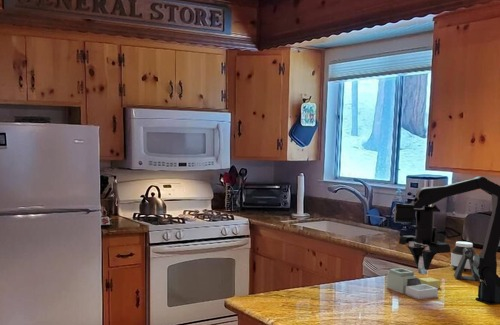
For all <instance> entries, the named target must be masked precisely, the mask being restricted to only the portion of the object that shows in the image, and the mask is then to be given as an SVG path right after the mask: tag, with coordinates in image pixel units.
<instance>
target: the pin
mask: <svg viewBox="0 0 500 325" xmlns="http://www.w3.org/2000/svg"><path fill="white" fill-rule="evenodd" d="M417 268H418V269H417V273H418V274H419V275H420V274H421V275H428V270H425V267H424V261H423V254H422V255H419V263H418V266H417Z"/></svg>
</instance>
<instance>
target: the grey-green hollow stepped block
mask: <svg viewBox="0 0 500 325" xmlns="http://www.w3.org/2000/svg"><path fill="white" fill-rule="evenodd" d="M386 277H387V282H386V283H387V284H386V288H387V289H389V290H392V291H395V292H397V293H400V294H406V286H413V285H421V282H420V280H419V279H418V277H417V275H415V272H414V271H411V270H409V269H405V268H401V267H400V268H390V269H389V271H387V276H386Z"/></svg>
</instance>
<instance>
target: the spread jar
mask: <svg viewBox="0 0 500 325" xmlns="http://www.w3.org/2000/svg"><path fill="white" fill-rule="evenodd" d="M473 247H474V244H473V242H469V241H463V240H462V241H456V242H455V246H454V247H453V248H452V250H451V252H450V254H451V256H450V263H451V267H453V269H455V270H456V269H457V266H458V264H459V262H460V260H461V258H462V255H463V249H464V248H466V249H467V250H468V251H467V252H466V255H467V254H469V253H470V250H471V251H472V252H473V261H474V256H475V254H477V252H476V250H475V249H474V248H473ZM468 248H469V249H470V250H469V249H468ZM463 272H471V267H470V263H469V259H467V261H466V264H465V267H464V270H463Z"/></svg>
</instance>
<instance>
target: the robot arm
mask: <svg viewBox="0 0 500 325" xmlns="http://www.w3.org/2000/svg"><path fill="white" fill-rule="evenodd" d="M477 190H482V191H483V192H484V193H486V194H489V195H490V196H491V209H492V212H491V216H490V219H489V222H488V227H487V231H486V234H485V239H484V243H483V247H482V250H481V252H480V253H479V254H477V253H476V254H475V256H474V262H473V263H472V265H473V266H474V267H473V269H474V272H475V273H476V274H477V275H478V276H479V279H480V281H478V282H479V284H478V285H477V287H478V288H477V297H475V300H477V301H479V302H482V303H484V304H489V305H498V304H500V276H499V275H498V274H497V272H498V271H497V270H498V263H497V254H498V253H497V252H498V249H499V245H500V184H498V183H495V182H493V181H491V180H489V179H488V178H486V177H484V176H480V175H479V176H476V177H473V178H470V179H466V180H462V181H459V182H458V181H457V182H453V183H450V184H446V185H439V186H426V187H424V186H423V187H421V188H419V189H418V190H417V191H416V193H415V194H416V195H415V197H414V199H412V201H411V202H410V203H400V202H396V203H395V205H394V210H393V222H394V223H398V224H399V223H401V224H403V223H405V224H412V222H414V221H415V225H413V226H412V228H413V230H415V235H411V234H410V235H401V236H400V237H399V238H398V239H399V245H405V246H406V245H407V244H408V246H407V248H408V250H409V251H410V253H411V255H412V258H413V259H414V261H415V262H414V263H415V264H416V266H417V267H418V263H419V255H423V261H424V267H425V270H427V271H428V270H429V268H430V266H431V264H432V261H433V259H434V257H435V256H436V255H437V254H444V253H445V254H446V253H447V254H448V253H451V245H450V244H449V243H446V239H447V235H445V234H443V233H440V232H437V227H434V222H435V221H434V219H435V213H441V209H439V208H438V207H437V205H436V203H437V202H440V201H441V200H444V199H446V198H448V197H452V196H455V195H459V194H464V193H469V192H471V191H477Z"/></svg>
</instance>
